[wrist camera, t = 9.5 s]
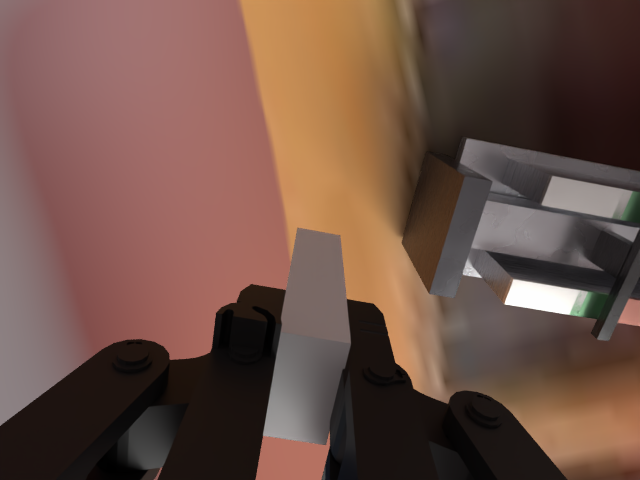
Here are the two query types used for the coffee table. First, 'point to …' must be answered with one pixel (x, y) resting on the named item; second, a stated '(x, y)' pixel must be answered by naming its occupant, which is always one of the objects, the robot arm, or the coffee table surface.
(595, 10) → the coffee table surface
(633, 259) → the plunger
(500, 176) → the gauge body
